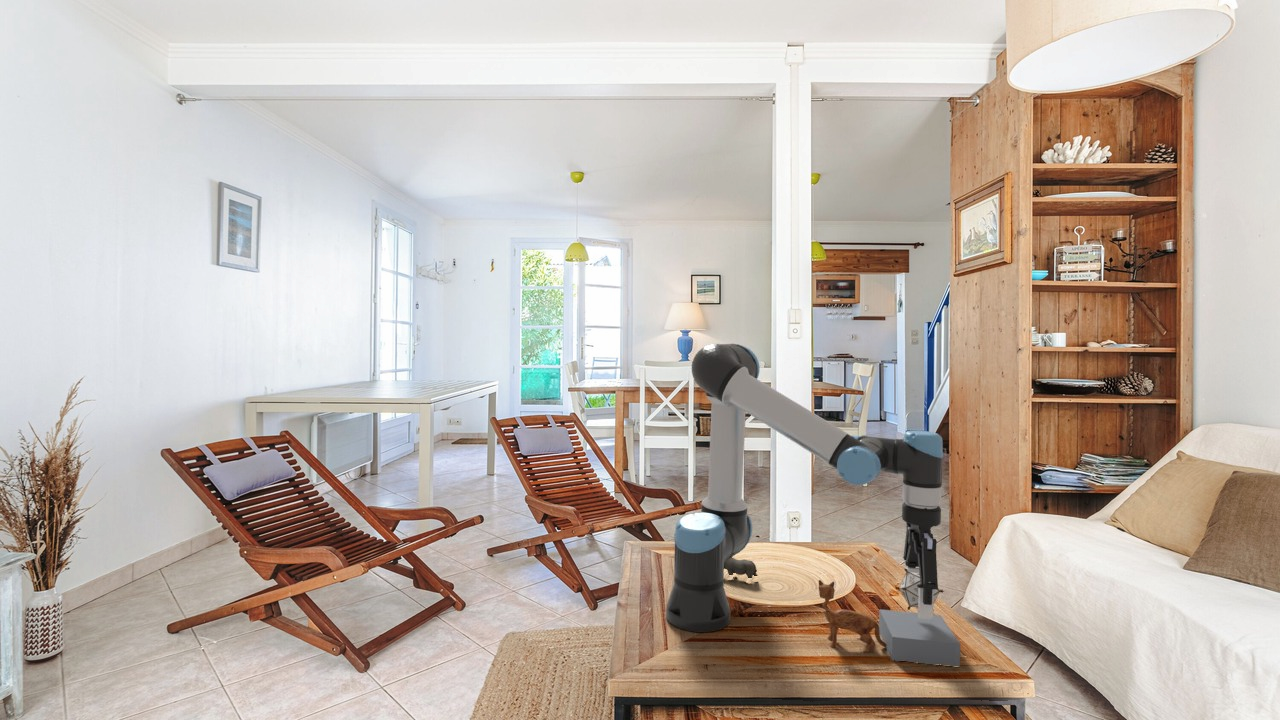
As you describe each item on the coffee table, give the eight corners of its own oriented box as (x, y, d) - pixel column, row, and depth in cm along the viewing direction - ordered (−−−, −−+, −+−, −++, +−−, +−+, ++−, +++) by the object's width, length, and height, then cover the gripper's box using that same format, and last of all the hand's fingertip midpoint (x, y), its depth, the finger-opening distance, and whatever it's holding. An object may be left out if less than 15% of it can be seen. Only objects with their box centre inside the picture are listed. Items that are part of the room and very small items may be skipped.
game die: (924, 629, 127) (936, 604, 121) (886, 604, 132) (895, 579, 125) (941, 599, 132) (953, 573, 126) (903, 576, 137) (913, 551, 130)
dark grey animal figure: (711, 572, 170) (711, 551, 170) (759, 580, 164) (759, 559, 164) (706, 577, 166) (707, 555, 166) (755, 586, 161) (756, 564, 160)
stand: (891, 660, 124) (892, 636, 124) (878, 630, 137) (879, 609, 136) (959, 668, 121) (960, 643, 121) (939, 637, 134) (940, 615, 134)
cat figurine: (897, 646, 132) (901, 585, 131) (905, 662, 125) (910, 598, 125) (812, 635, 135) (817, 575, 134) (816, 650, 128) (821, 587, 128)
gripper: (958, 520, 116) (954, 633, 117) (925, 492, 138) (922, 587, 139) (917, 517, 118) (913, 629, 118) (891, 490, 140) (888, 584, 140)
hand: (918, 607), depth 129 cm, fingers closed on game die, 10 cm apart
